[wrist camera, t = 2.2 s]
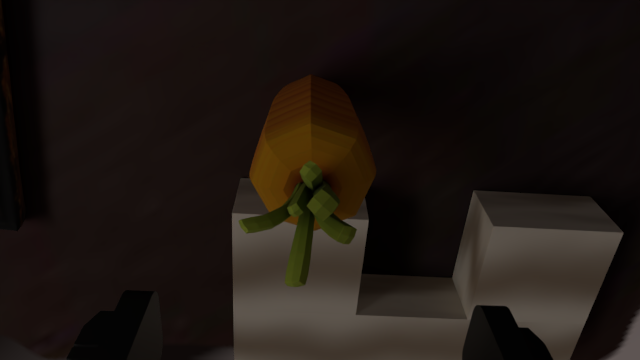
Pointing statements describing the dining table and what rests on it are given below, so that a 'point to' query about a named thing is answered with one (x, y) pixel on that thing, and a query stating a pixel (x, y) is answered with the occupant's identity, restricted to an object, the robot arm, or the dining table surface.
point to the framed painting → (8, 148)
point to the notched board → (421, 283)
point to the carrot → (310, 168)
